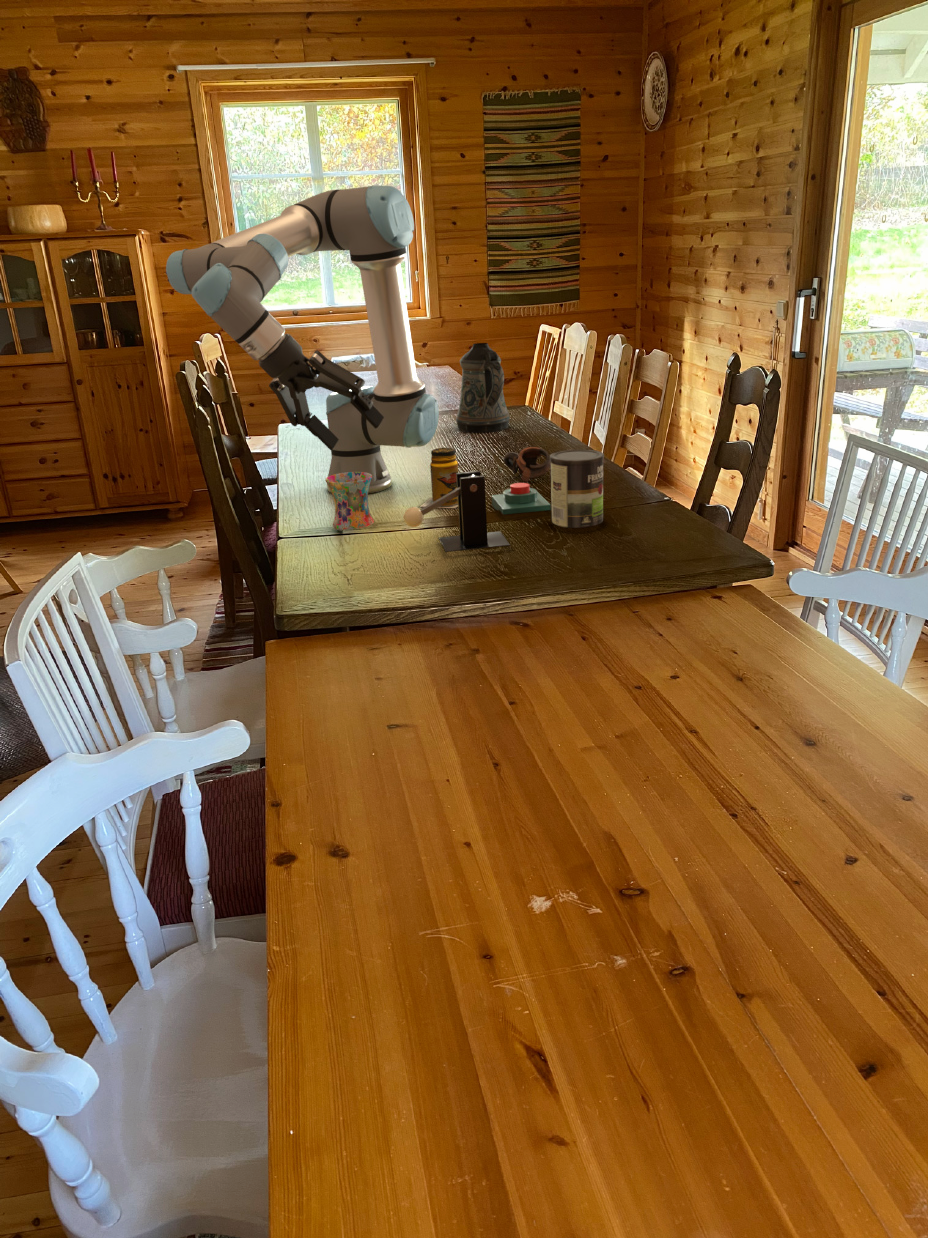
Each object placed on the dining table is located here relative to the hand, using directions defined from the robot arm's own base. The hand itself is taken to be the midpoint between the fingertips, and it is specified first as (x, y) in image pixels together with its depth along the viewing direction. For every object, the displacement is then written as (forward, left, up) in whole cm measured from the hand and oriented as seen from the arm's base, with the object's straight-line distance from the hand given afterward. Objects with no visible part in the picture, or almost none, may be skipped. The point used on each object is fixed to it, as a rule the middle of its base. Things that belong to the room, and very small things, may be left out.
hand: (356, 434), depth 168 cm
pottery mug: (-41, +41, -22) cm, 62 cm away
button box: (-14, +33, -21) cm, 42 cm away
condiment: (-25, +18, -22) cm, 38 cm away
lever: (+8, +15, -14) cm, 21 cm away
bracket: (+8, +19, -21) cm, 30 cm away
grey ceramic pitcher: (-108, +44, -22) cm, 119 cm away
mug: (-14, -2, -22) cm, 26 cm away
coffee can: (+1, +41, -22) cm, 47 cm away
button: (-14, +33, -18) cm, 40 cm away
